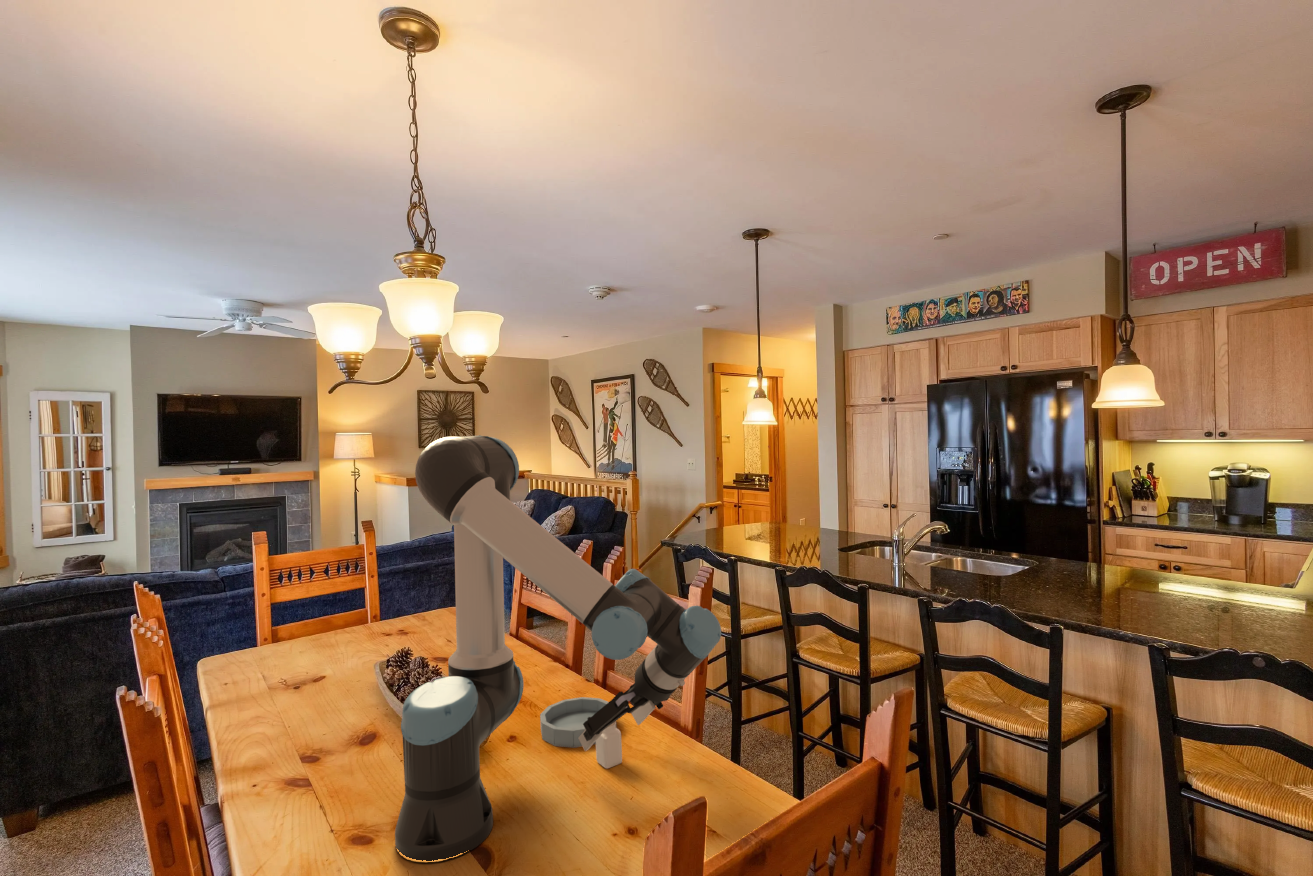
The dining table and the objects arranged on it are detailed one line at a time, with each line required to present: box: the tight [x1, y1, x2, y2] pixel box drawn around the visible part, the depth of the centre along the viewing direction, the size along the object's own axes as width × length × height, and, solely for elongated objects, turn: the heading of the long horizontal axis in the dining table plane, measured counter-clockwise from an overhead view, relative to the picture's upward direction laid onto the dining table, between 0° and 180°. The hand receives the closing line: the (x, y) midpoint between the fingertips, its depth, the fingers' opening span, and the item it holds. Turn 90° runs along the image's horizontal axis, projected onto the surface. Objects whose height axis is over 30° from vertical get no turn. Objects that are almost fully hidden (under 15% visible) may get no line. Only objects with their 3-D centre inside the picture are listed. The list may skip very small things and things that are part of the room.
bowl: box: [539, 696, 609, 749], centre depth 137 cm, size 16×16×4 cm
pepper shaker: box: [595, 720, 623, 769], centre depth 122 cm, size 4×4×10 cm
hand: (610, 730), depth 122 cm, fingers open, 13 cm apart
